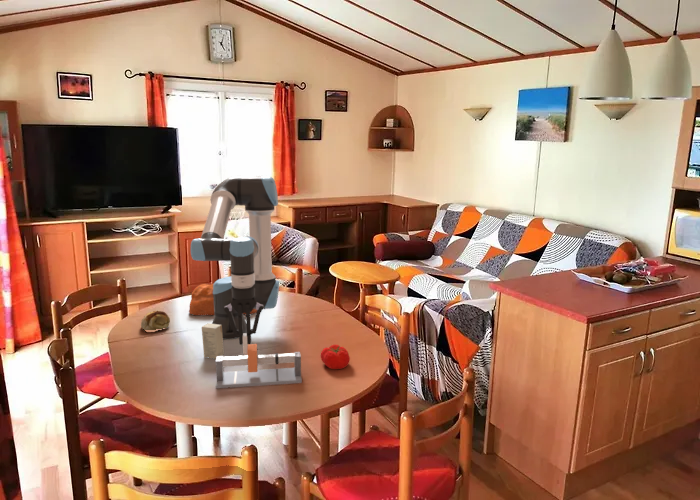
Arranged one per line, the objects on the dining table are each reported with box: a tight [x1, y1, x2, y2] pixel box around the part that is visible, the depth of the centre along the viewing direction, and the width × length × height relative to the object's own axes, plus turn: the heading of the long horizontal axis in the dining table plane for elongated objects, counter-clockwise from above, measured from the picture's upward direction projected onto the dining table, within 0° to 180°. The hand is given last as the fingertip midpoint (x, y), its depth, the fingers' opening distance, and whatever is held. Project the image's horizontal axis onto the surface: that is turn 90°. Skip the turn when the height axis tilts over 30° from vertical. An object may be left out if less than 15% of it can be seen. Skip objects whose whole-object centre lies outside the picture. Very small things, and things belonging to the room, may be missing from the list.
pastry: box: [140, 310, 171, 331], centre depth 230 cm, size 14×12×8 cm
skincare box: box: [201, 322, 225, 360], centre depth 201 cm, size 6×4×12 cm
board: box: [215, 367, 302, 389], centre depth 184 cm, size 28×10×1 cm, turn 99°
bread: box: [188, 283, 257, 316], centre depth 252 cm, size 16×31×13 cm, turn 94°
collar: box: [247, 343, 258, 372], centre depth 182 cm, size 3×6×8 cm, turn 9°
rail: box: [215, 351, 302, 382], centre depth 183 cm, size 28×4×7 cm, turn 99°
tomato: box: [320, 344, 351, 370], centre depth 195 cm, size 10×11×6 cm
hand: (245, 352), depth 181 cm, fingers closed
